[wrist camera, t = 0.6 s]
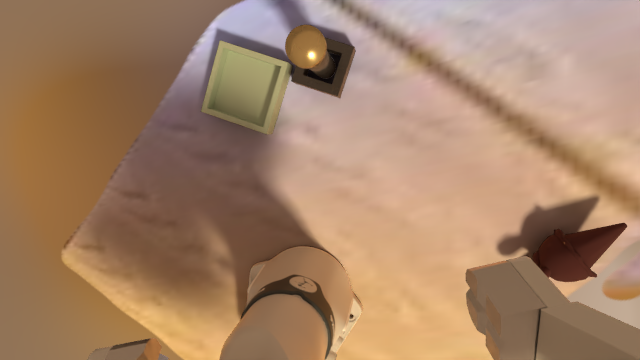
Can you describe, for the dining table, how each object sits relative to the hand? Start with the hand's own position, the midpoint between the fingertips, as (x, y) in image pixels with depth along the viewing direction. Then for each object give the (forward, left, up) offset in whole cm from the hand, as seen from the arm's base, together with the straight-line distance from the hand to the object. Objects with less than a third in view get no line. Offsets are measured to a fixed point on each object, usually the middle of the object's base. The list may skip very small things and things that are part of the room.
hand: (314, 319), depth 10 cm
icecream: (-3, -29, -48) cm, 57 cm away
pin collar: (+11, +11, -48) cm, 51 cm away
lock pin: (+11, +11, -48) cm, 51 cm away
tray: (+4, +21, -48) cm, 53 cm away
